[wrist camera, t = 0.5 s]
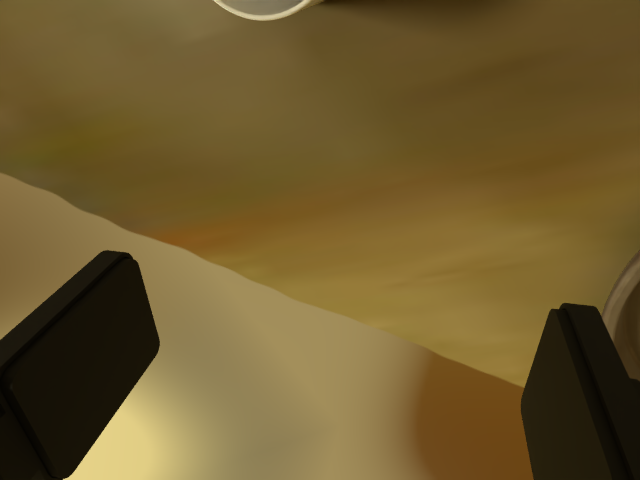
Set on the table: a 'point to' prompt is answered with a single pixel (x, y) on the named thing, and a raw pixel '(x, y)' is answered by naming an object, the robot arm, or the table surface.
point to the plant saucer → (626, 316)
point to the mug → (266, 8)
